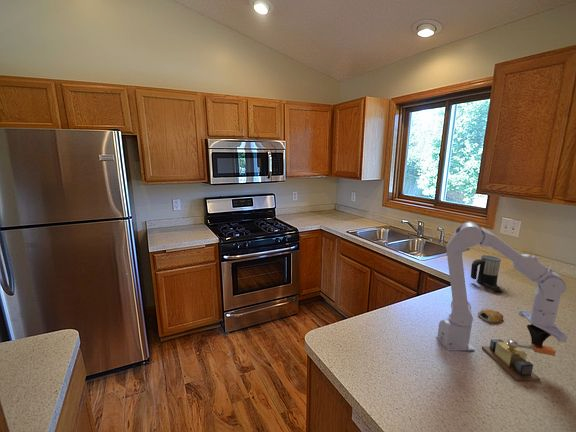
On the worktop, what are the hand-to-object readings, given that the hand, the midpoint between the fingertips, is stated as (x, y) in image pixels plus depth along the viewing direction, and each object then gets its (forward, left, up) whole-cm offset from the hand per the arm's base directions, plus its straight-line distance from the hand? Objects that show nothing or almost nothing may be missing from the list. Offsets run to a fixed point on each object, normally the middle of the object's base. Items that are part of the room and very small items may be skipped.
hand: (536, 348), depth 89 cm
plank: (-7, +1, -6) cm, 10 cm away
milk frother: (+31, +59, -7) cm, 67 cm away
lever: (-3, -1, 0) cm, 3 cm away
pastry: (+7, +28, -7) cm, 30 cm away
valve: (-7, +1, -6) cm, 10 cm away
